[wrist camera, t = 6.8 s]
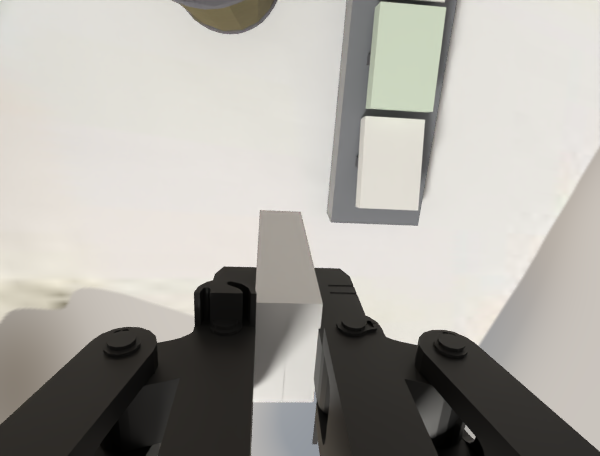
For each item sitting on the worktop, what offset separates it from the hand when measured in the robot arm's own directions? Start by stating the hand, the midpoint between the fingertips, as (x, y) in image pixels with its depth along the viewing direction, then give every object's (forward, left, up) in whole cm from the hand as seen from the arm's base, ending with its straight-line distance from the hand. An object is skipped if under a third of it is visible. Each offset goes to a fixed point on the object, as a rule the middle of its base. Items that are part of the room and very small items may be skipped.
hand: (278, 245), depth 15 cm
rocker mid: (+12, +8, -28) cm, 31 cm away
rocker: (+12, -2, -28) cm, 30 cm away
